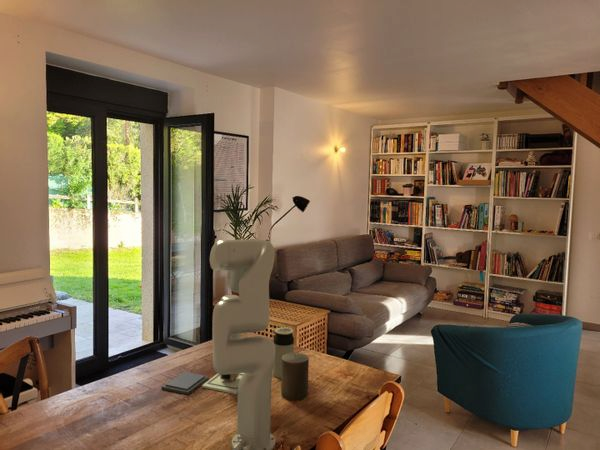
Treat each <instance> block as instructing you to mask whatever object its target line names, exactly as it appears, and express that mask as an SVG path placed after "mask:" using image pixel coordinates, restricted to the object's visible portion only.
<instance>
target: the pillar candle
mask: <svg viewBox="0 0 600 450" xmlns="http://www.w3.org/2000/svg"><path fill="white" fill-rule="evenodd" d="M309 358H310V357H309V356H308V355H307V354H304V353H300V352H294V353H289V354H285V355H283V356H282V376H281V378H280V380H281V382H280V383H281V384H280V394H281V397H282V398H284V399H286V400H289V401H293V402H294V401H301V400H305V399H306V398H307V397H308V395H309V367H310V366H309V360H310V359H309ZM304 398H305V399H304Z"/></svg>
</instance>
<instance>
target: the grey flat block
mask: <svg viewBox="0 0 600 450" xmlns="http://www.w3.org/2000/svg"><path fill="white" fill-rule="evenodd" d="M208 380H210V379H209V376H208V375H203V374H199V373H192V372H189V371H183V372H182V373H180V374H178V375H177V376H175V377H174V378H172V379H170V380H169V381H168V382H166V383H165V384H163V385H162V386H161V390H163V391H168V392H173V393H178V394H181V395H190V394H191V393H193V392H194V391H195V390H196V389H197V388H199V387H200V386H202V385H203V384H204V383H206V382H207V381H208Z"/></svg>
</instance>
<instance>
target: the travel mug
mask: <svg viewBox="0 0 600 450" xmlns="http://www.w3.org/2000/svg"><path fill="white" fill-rule="evenodd" d="M274 333H275V334H274V337H273V343H274V345H275V360H274V365H273V371H272V376H274V377H275V378H278V379H281V376H282V356H283V355H285V354H289V353H295V350H294V349H295V337H294V336H293V335H294V334H293V333H294V329H293V328H291V327H284V326H281V327H276V328H275V329H274Z"/></svg>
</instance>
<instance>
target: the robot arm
mask: <svg viewBox="0 0 600 450" xmlns="http://www.w3.org/2000/svg"><path fill="white" fill-rule="evenodd" d="M209 254H210V255H209V264H210V265H209V266H210V268H211V269H212V270H213V271H215V272H218V271H219V272H221V271H227V273H226V279H225V284H226V287H227V288H228V289H229V290H231V291H232V292H234V293H237V294H238V295H236V294H226V295H223V296H221V298H220V301H218V302H217V303H216V304H214V305H215V306H214V308H213V310H212V311H213V312H212V366H213V369H214V371H215V373H216V374H221V375H222V378H223V379H228V380H229V379H230V374H238V373H244V375H243V376H242V378H241V380H240V382H239V385H238V393H237V408H236V409H237V412H236V415H237V417H236V420H237V421H236V423H237V424H236V426H237V427H236V428H237V429H236V433H235V434H234V435H233V437H232V438H231V447H232V448H231V450H273V449H274V448H275V447H276V438H275V436H274V435H273V433H272V432H271V418H272V417H271V415H272V414H271V413H272V410H271V409H272V406H271V405H272V379H273V365H274V360H275V345H274V341H273V340H272V339H270V338H268V337H266V336H249V337H248V336H246V337H242V334H250V333H251V334H252V333H258V332H263V331H265V330H267V328H268V327H269V324H270V287H269V286H270V278H271V274H272V272H273V268H274V264H275V248H274V246H273V244H272V243H271V242H270V241H269V240H265V239H252V238H251V239H222V240H217V241H216V242H215V243H214V244H213V245H212V247H211V250H210V253H209Z"/></svg>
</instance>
